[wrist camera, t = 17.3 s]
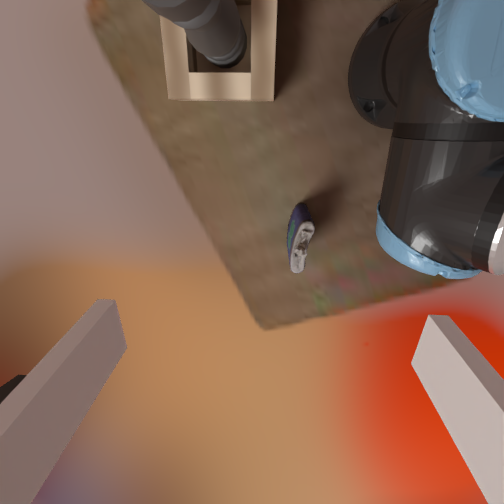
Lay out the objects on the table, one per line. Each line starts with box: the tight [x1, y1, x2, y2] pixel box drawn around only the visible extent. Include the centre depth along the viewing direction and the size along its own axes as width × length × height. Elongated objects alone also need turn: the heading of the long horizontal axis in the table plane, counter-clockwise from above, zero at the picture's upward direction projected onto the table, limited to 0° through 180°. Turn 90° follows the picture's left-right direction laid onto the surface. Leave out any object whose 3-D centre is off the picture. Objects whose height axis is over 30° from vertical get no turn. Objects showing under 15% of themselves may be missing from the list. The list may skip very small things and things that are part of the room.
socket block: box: [160, 0, 277, 101], centre depth 37 cm, size 14×14×6 cm
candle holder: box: [142, 0, 247, 68], centre depth 28 cm, size 6×6×25 cm
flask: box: [287, 203, 315, 273], centre depth 46 cm, size 9×3×11 cm, turn 172°
